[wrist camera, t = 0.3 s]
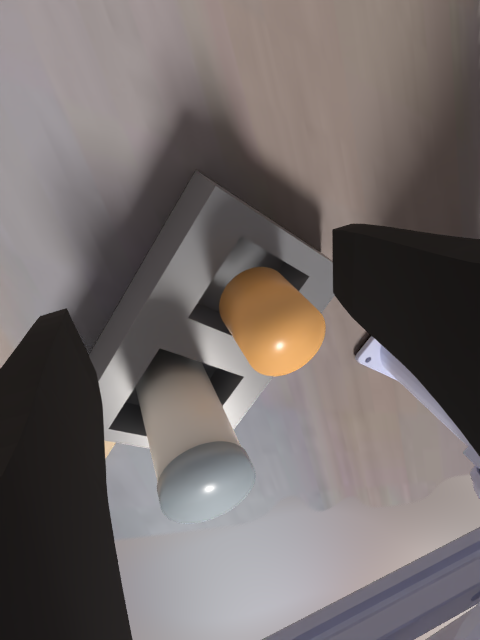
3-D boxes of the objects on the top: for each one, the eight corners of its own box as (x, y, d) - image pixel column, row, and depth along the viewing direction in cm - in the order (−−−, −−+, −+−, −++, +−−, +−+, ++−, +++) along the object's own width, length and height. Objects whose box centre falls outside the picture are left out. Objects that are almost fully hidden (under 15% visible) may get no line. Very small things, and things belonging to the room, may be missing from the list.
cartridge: (216, 356, 24) (273, 463, 18) (180, 407, 25) (222, 525, 19) (154, 333, 22) (194, 448, 15) (118, 391, 23) (142, 520, 17)
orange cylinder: (301, 284, 20) (341, 321, 17) (260, 341, 21) (291, 384, 18) (247, 254, 18) (281, 289, 15) (204, 318, 19) (229, 362, 16)
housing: (321, 252, 24) (350, 274, 21) (198, 425, 27) (211, 459, 25) (196, 169, 19) (215, 185, 16) (66, 394, 22) (67, 433, 20)
